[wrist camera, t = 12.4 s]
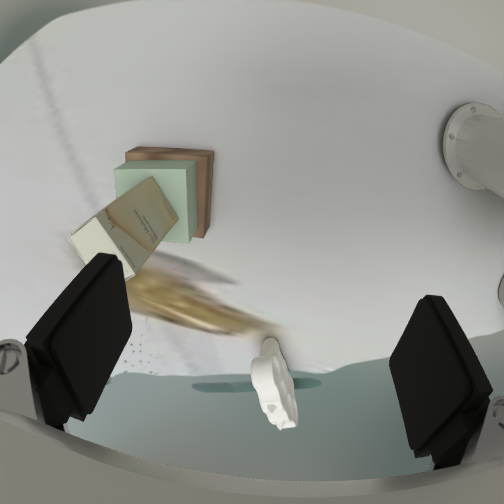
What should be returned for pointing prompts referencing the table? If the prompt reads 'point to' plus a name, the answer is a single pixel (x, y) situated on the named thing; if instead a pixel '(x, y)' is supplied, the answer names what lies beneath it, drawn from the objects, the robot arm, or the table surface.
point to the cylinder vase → (501, 292)
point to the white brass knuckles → (274, 385)
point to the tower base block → (202, 175)
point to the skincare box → (127, 227)
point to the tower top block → (166, 190)
